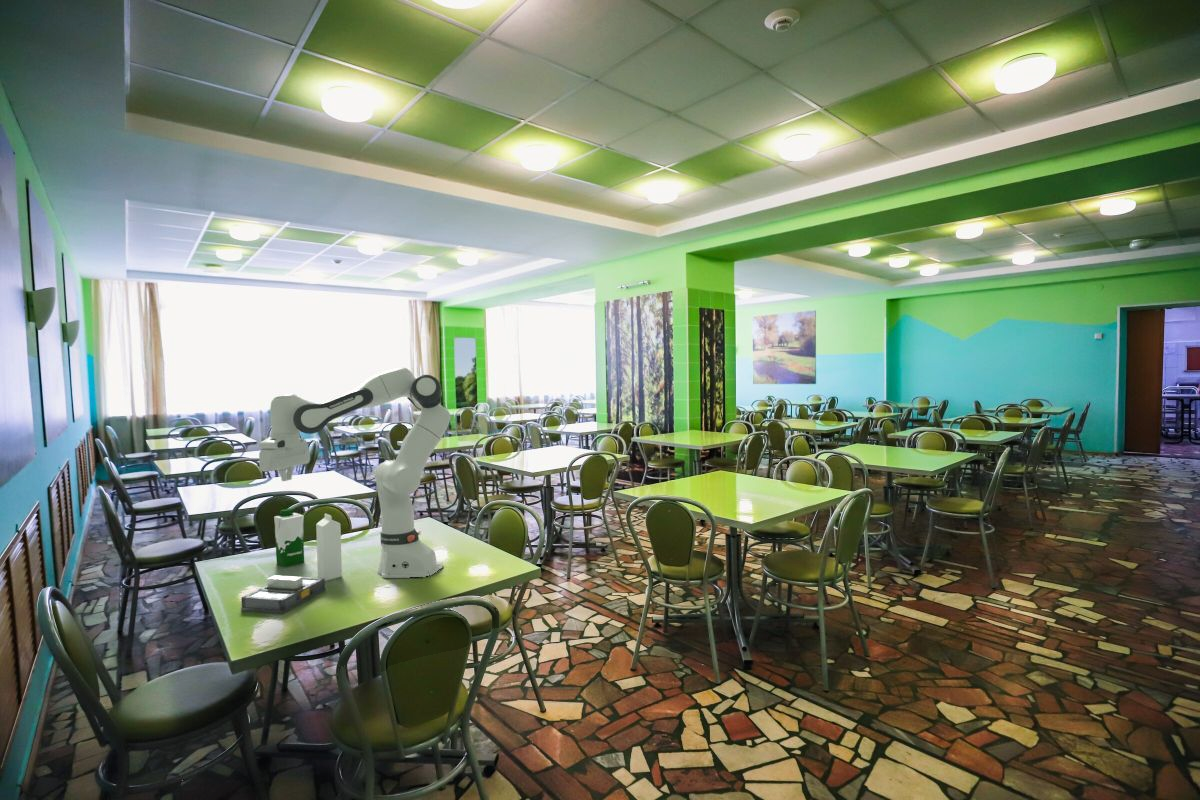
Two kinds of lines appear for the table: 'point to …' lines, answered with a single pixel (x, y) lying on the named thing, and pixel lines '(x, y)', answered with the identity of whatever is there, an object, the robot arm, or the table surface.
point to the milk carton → (289, 538)
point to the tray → (282, 597)
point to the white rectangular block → (284, 583)
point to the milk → (329, 548)
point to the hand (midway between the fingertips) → (286, 480)
